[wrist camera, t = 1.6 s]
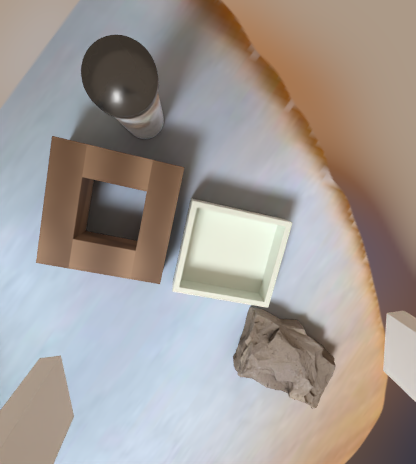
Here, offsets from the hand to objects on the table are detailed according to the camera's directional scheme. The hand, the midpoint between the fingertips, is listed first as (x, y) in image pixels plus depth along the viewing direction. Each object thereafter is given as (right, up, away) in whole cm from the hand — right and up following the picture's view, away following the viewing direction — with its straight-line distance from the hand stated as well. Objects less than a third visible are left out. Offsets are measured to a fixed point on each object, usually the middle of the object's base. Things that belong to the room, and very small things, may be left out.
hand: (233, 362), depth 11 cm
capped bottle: (-8, +17, +18) cm, 26 cm away
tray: (+1, +3, +22) cm, 22 cm away
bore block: (-11, +8, +20) cm, 24 cm away
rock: (+8, -10, +26) cm, 29 cm away
